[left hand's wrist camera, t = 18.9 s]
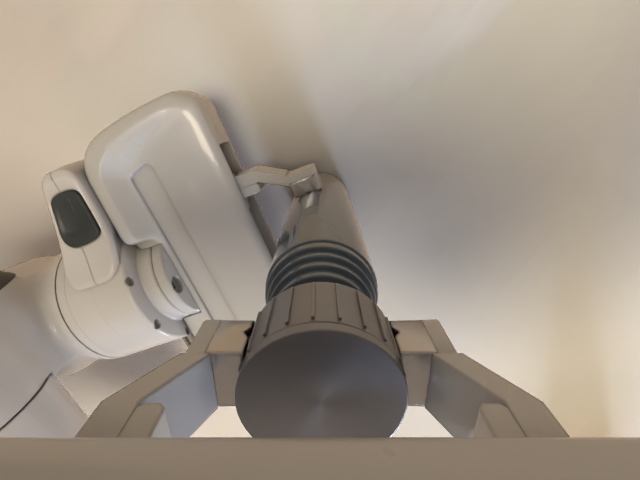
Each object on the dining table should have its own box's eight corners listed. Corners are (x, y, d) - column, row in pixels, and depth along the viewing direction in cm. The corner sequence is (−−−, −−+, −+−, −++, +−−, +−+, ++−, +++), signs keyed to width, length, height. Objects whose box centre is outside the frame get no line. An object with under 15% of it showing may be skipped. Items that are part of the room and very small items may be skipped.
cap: (359, 411, 11) (368, 481, 9) (234, 375, 11) (212, 441, 9) (415, 306, 10) (442, 360, 8) (274, 259, 9) (261, 304, 7)
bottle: (298, 168, 27) (242, 299, 8) (352, 177, 27) (427, 324, 8) (291, 221, 28) (230, 437, 9) (343, 229, 29) (386, 455, 10)
